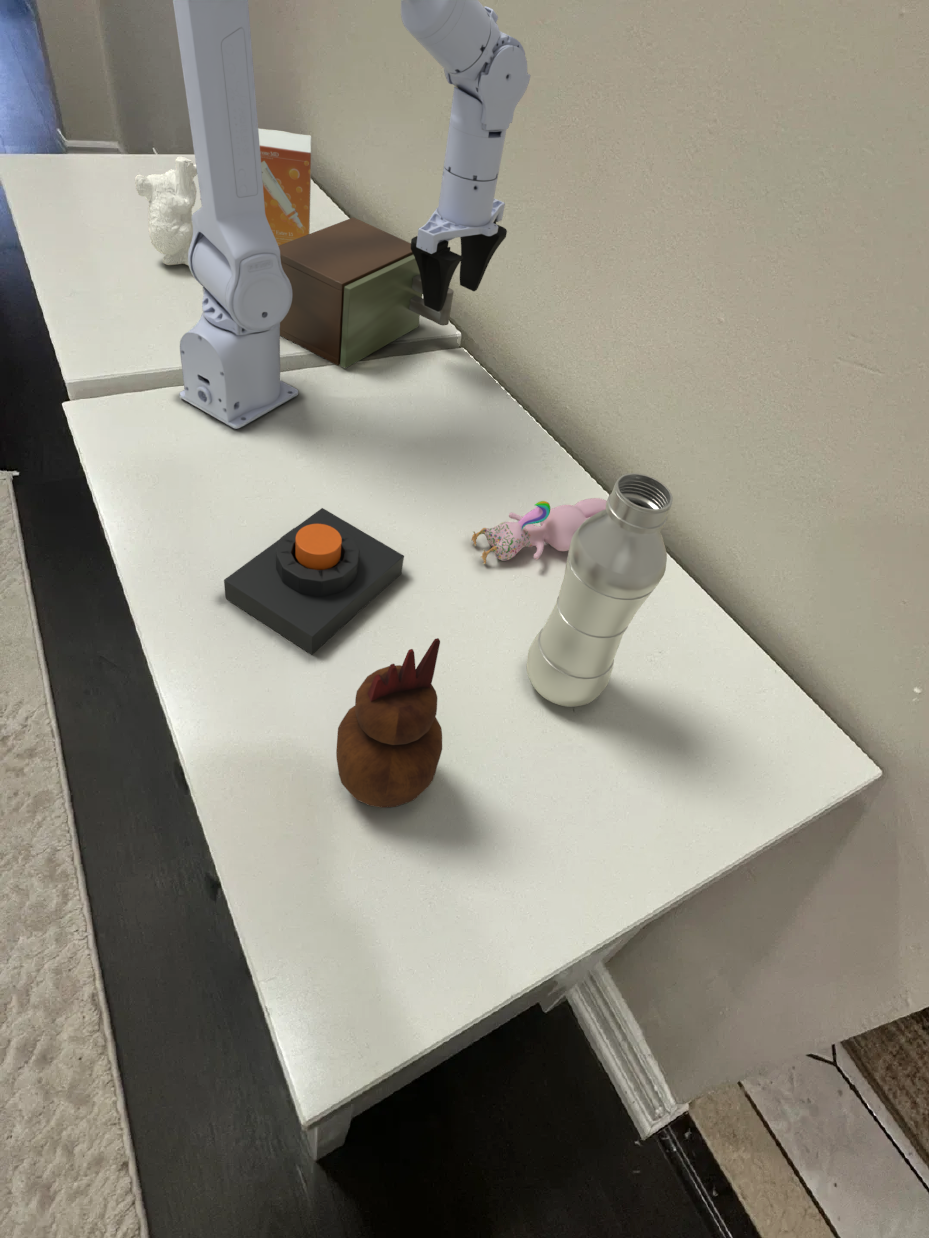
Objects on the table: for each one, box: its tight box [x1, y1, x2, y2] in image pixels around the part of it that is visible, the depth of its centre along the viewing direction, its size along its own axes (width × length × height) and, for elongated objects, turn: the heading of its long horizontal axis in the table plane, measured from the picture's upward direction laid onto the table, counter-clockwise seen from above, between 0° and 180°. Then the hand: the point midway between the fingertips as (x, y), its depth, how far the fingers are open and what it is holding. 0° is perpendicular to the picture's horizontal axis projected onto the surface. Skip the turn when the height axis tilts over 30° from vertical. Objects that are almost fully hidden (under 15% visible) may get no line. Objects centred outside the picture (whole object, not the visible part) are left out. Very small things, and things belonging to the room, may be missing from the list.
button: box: [295, 524, 342, 570], centre depth 61 cm, size 4×4×2 cm
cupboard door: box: [339, 255, 455, 369], centre depth 88 cm, size 6×15×9 cm, turn 147°
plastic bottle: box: [526, 472, 674, 708], centre depth 55 cm, size 6×7×20 cm
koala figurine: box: [134, 156, 198, 267], centre depth 93 cm, size 8×7×12 cm
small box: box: [258, 127, 313, 246], centre depth 101 cm, size 8×6×13 cm
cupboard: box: [278, 216, 413, 367], centre depth 90 cm, size 10×15×10 cm
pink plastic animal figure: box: [471, 497, 607, 565], centre depth 71 cm, size 6×6×15 cm
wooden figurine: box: [335, 637, 443, 809], centre depth 48 cm, size 7×6×15 cm
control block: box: [223, 507, 405, 655], centre depth 63 cm, size 12×9×4 cm
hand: (451, 297), depth 89 cm, fingers open, 7 cm apart
